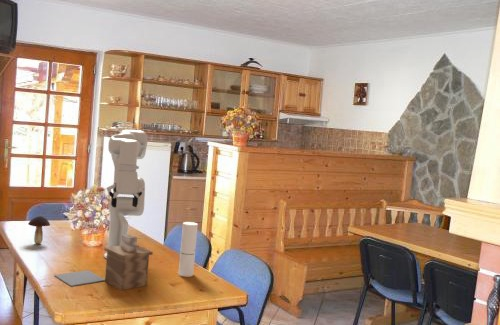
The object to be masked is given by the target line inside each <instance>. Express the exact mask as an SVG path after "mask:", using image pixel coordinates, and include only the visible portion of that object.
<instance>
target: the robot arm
mask: <svg viewBox="0 0 500 325" xmlns="http://www.w3.org/2000/svg"><path fill="white" fill-rule="evenodd" d="M147 147H148V134H147V133H146V131H143V130H134V129H123V130H121V131H120V132H118V134H114V135H111V136H110V138H109V140H108V151H109V153H110V155H111V160H112V162H113V166H114V172H113V173H114V174H113V182H112V183H113V184H111V185H109V186H107V187H106V191H107V194H108V196H109V197H110V198H111V199H110V200H109V203H108V204H109V205H108V207H109V209H108V210H109V226H108V228H109V229H108V239H107V240H108V241H107V247H112V246H121V241H122V235H128V234H129V222H128V220H127V218H125V217H126V216H128V217H131V216H132V217H139V216H142V215H143V214H144V210H145V195H146V194H145V193H146V192H145V191H146V182H145V180H144V178H143V177H139V175H138V172H137V170H139V169H140V166H138V164H137V162H138V160H142V159H144V158H145V156H146V153H147ZM119 195H124V196H119ZM127 195H128V196H127ZM103 257H104V258H105V259H107V252H105V253H104V254H103Z"/></svg>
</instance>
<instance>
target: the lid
mask: <svg viewBox="0 0 500 325" xmlns="http://www.w3.org/2000/svg"><path fill="white" fill-rule="evenodd" d="M103 248H104V251H105V252H106V253H107V252H109V253H112V254H114V255H116V256H118V257H120V258H122V259H123V258H131V257H138V256H146V255H149V256H151V255H153V253H154V252H153V251H152V250H149V249H147V248H144V247H142V246H139V245H138V237H137V236H135V235H133V234H129V233H128V235H122V241H121V246H112V247H108V246H106V247H103Z"/></svg>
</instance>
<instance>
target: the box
mask: <svg viewBox="0 0 500 325" xmlns="http://www.w3.org/2000/svg"><path fill="white" fill-rule="evenodd" d="M106 253H107V258H106V264H105V265H106V266H105V276H104V277H105V278H104V279H105V281H104V282H105V283H107V284H109V285H111V286H113V287H114V288H116V289H118V290H120V291H123V290H128V289H133V288H139V287H145V286H147V284H148V276H149V275H148V272H149V263H150V262H149V261H150V255H146V256H138V257H131V258H123V259H122V258H120V257H118V256H116V255H114V254H112V253H109V252H107V251H106Z"/></svg>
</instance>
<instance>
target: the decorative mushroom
mask: <svg viewBox="0 0 500 325" xmlns="http://www.w3.org/2000/svg"><path fill="white" fill-rule="evenodd" d="M28 225H29V226H31V227H35V232H34V236H33V237H34V238H33V241H34V243H35V244H36V245H38V244H42V243H43V239H44V237H43V236H44V234H43V232H44V231H43V227H49V226H51V224H50V221H49V220H48V219H47V218H45V217H44V216H36V217H33V218H32V219H30V220H29V221H28Z"/></svg>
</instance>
